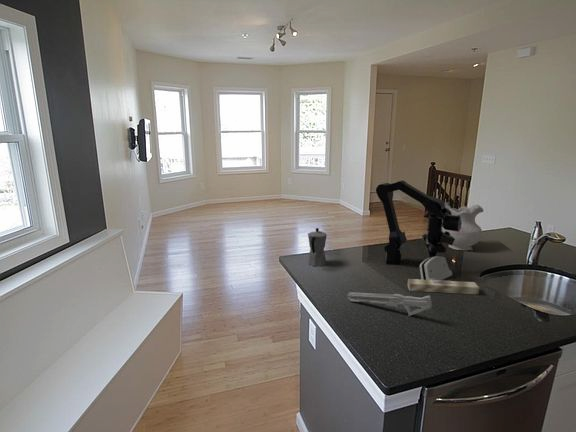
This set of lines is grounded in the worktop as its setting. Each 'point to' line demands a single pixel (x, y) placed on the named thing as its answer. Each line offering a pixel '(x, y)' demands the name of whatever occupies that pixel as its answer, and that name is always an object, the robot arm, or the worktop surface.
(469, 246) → the ceramic pitcher
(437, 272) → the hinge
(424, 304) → the gun
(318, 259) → the coffeepot
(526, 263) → the worktop surface
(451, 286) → the beige wooden bar
